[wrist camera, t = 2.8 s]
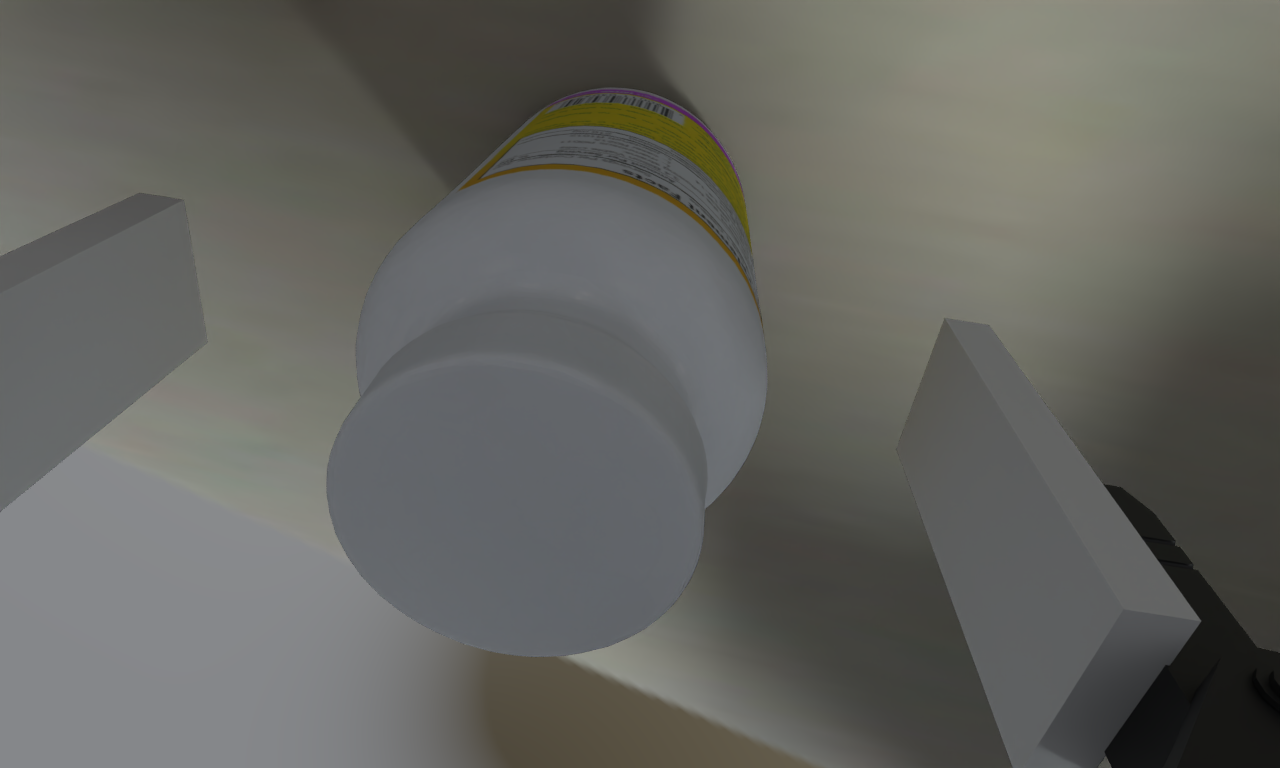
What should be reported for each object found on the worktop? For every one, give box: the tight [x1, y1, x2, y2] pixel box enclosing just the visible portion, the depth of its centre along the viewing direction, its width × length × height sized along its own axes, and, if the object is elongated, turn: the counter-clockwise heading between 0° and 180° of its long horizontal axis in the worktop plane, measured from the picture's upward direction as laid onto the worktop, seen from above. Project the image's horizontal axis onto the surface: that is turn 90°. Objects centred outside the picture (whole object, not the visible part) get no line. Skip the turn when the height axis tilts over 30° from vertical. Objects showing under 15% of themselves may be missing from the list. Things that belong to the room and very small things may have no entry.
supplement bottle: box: [327, 87, 767, 657], centre depth 15 cm, size 7×7×13 cm
